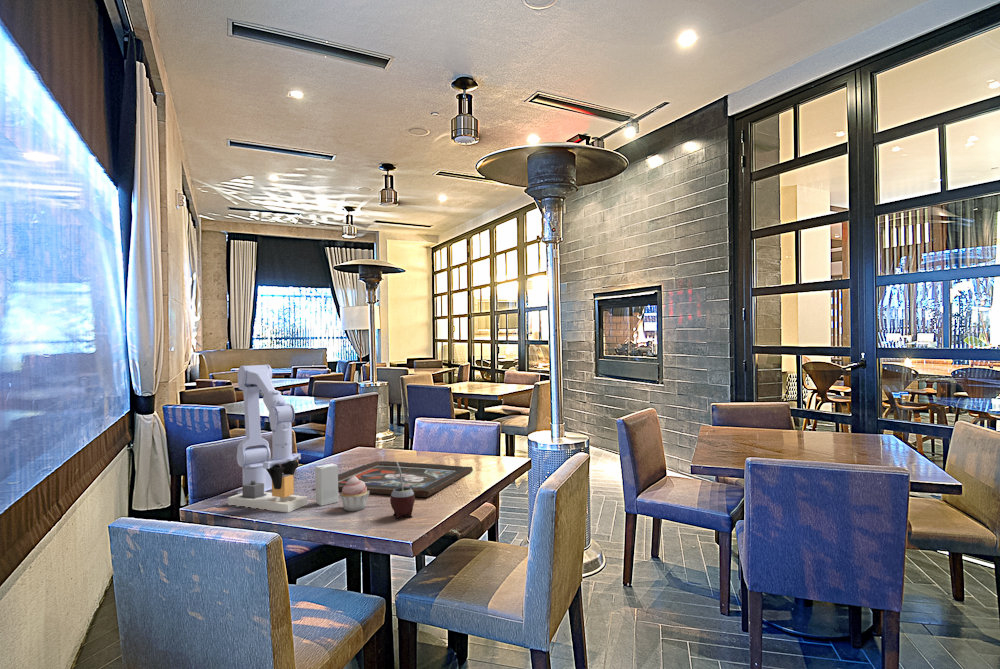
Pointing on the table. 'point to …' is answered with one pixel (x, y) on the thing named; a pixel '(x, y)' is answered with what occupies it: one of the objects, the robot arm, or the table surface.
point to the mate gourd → (402, 500)
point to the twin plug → (253, 490)
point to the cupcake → (354, 495)
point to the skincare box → (326, 484)
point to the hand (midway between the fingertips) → (282, 486)
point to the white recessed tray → (270, 502)
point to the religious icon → (404, 477)
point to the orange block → (284, 487)
